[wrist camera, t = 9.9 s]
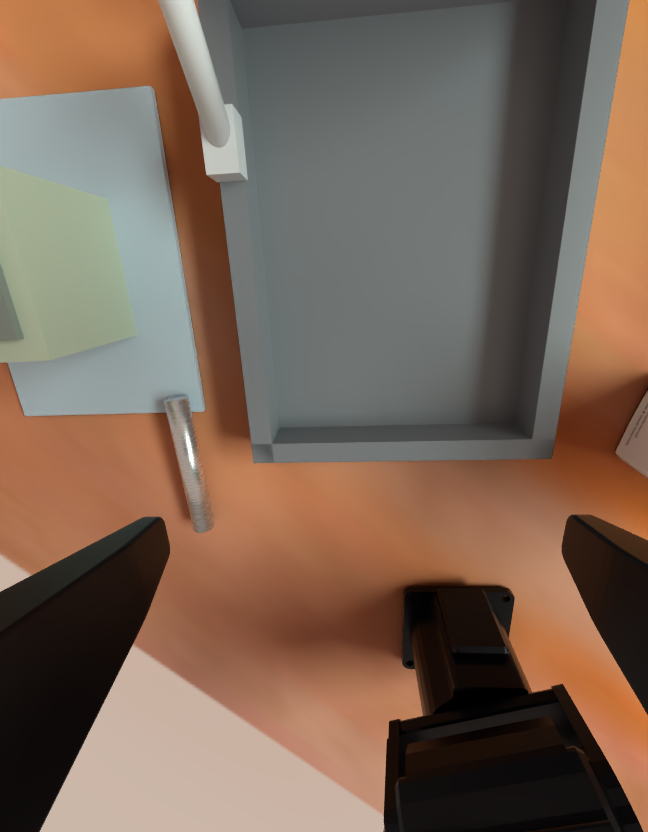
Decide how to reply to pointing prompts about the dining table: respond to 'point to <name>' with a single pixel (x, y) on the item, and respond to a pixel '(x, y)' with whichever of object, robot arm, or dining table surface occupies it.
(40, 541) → the dining table surface
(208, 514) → the rod
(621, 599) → the robot arm
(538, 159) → the equipment case
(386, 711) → the dining table surface
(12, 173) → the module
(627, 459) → the ink box
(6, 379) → the dining table surface
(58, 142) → the blue-grey flat plate
